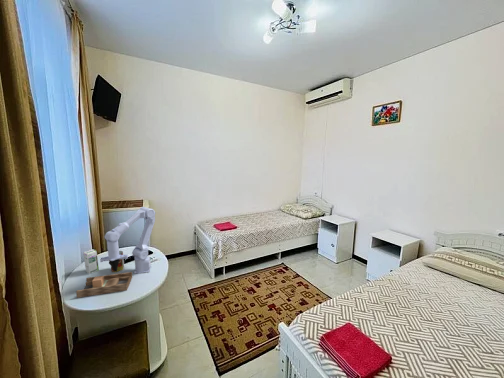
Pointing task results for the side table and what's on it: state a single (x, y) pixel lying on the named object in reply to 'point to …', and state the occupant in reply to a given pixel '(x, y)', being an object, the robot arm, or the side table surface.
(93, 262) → the syrup box
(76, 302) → the side table surface
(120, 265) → the canned food
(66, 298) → the side table surface
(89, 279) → the trap lane
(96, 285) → the terracotta block
